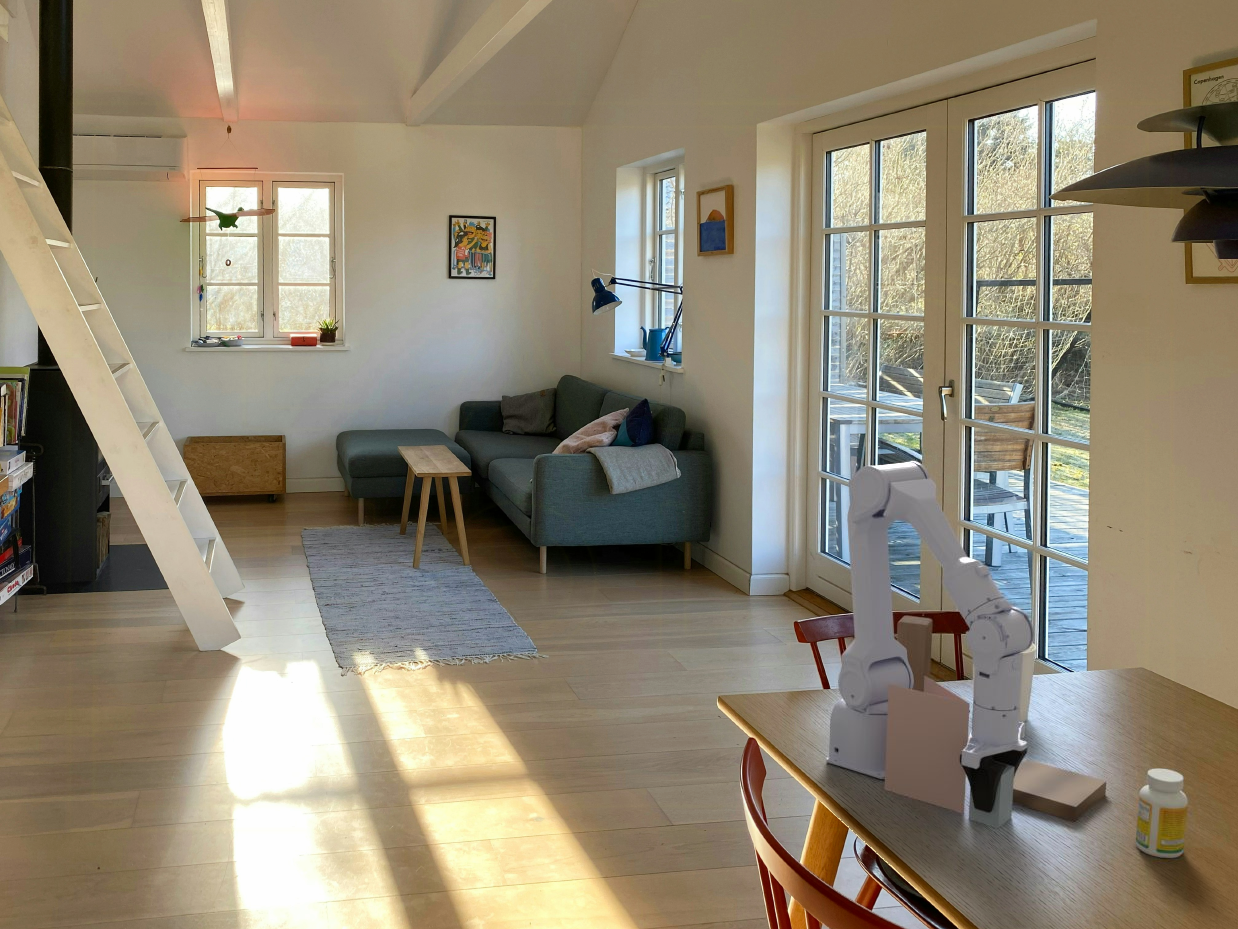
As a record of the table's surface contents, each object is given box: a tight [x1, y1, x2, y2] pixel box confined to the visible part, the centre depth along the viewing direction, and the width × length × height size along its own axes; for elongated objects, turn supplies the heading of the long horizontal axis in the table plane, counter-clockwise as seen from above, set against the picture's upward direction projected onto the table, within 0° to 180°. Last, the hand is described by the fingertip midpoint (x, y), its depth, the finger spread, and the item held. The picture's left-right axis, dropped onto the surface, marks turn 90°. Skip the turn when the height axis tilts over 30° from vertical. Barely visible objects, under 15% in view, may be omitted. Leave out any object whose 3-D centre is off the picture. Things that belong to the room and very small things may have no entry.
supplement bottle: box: [1135, 768, 1189, 859], centre depth 142 cm, size 5×5×10 cm
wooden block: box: [896, 615, 933, 692], centre depth 178 cm, size 9×4×18 cm, turn 64°
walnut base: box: [1012, 759, 1107, 822], centre depth 157 cm, size 11×11×2 cm
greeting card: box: [884, 676, 971, 814], centre depth 155 cm, size 11×7×15 cm, turn 15°
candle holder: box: [972, 642, 1037, 723], centre depth 187 cm, size 10×10×12 cm
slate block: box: [968, 761, 1014, 829], centre depth 150 cm, size 4×4×7 cm
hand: (990, 804), depth 150 cm, fingers closed on slate block, 4 cm apart
